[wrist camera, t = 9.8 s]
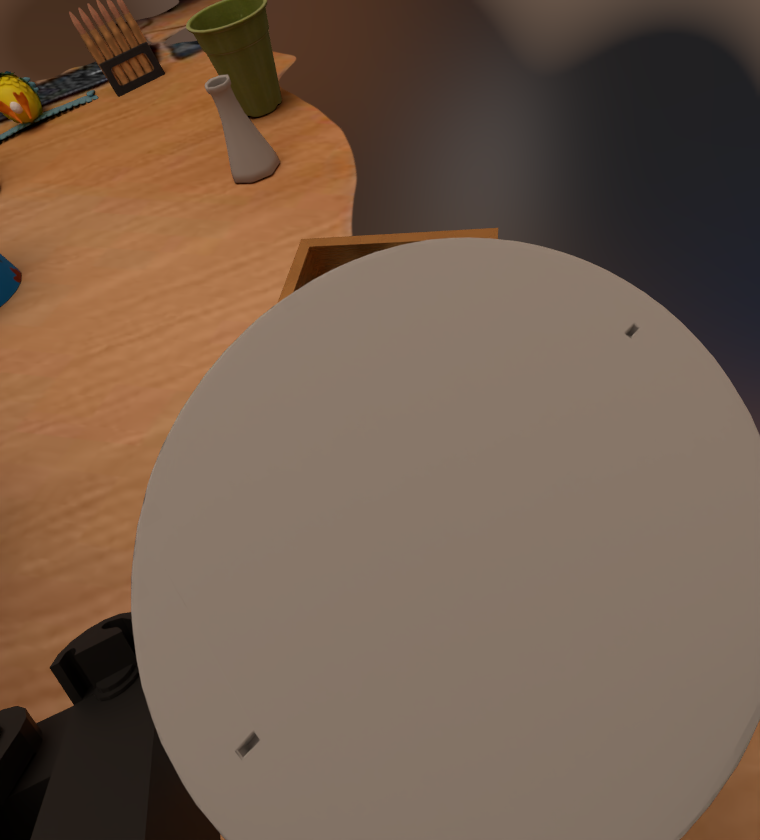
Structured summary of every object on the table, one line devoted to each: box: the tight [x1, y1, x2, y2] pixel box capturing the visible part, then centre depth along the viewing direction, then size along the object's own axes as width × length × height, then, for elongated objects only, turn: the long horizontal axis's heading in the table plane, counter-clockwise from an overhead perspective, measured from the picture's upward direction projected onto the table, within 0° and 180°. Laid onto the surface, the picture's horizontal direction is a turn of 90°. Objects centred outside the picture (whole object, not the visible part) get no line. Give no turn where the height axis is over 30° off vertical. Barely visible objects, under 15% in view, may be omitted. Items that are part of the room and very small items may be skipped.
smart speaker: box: [131, 237, 760, 840], centre depth 10 cm, size 10×9×14 cm
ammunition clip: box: [69, 0, 165, 97], centre depth 73 cm, size 11×2×12 cm, turn 123°
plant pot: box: [186, 0, 282, 117], centre depth 57 cm, size 12×12×11 cm
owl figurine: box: [0, 71, 98, 140], centre depth 76 cm, size 28×9×15 cm
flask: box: [205, 75, 280, 183], centre depth 49 cm, size 7×7×10 cm
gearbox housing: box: [278, 228, 498, 303], centre depth 30 cm, size 18×17×7 cm
